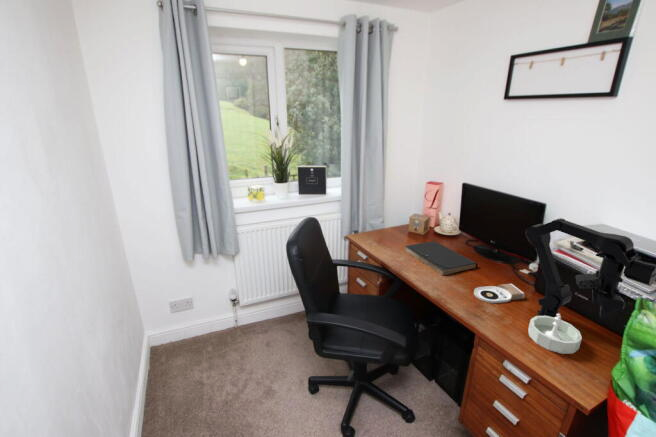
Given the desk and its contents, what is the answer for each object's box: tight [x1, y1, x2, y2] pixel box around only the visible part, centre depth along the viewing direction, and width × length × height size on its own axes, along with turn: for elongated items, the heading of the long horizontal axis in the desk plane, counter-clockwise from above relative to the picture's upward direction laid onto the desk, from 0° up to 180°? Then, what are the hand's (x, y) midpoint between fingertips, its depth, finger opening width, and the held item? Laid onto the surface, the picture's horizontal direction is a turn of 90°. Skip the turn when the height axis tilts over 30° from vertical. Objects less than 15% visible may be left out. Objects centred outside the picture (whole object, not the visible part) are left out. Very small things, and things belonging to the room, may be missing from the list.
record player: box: [473, 283, 525, 304], centre depth 142 cm, size 12×3×20 cm
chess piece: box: [545, 312, 562, 340], centre depth 112 cm, size 5×5×10 cm
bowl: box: [528, 315, 583, 355], centre depth 113 cm, size 15×15×4 cm
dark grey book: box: [404, 240, 479, 276], centre depth 178 cm, size 33×4×24 cm
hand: (598, 311), depth 110 cm, fingers open, 9 cm apart
